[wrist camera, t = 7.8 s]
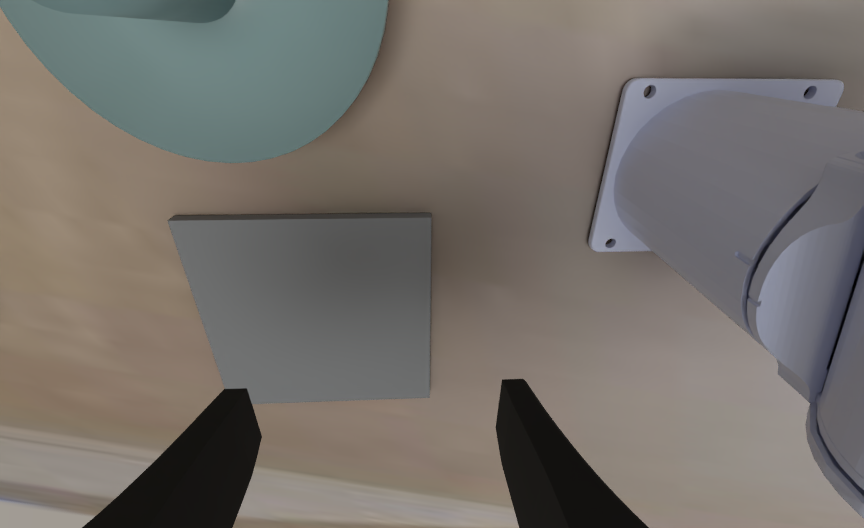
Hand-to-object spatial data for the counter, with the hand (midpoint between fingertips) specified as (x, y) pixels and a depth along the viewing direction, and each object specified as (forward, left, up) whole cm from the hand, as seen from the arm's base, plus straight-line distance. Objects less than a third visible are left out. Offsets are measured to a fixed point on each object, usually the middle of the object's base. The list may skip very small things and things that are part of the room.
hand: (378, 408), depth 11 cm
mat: (+4, +4, -10) cm, 11 cm away
